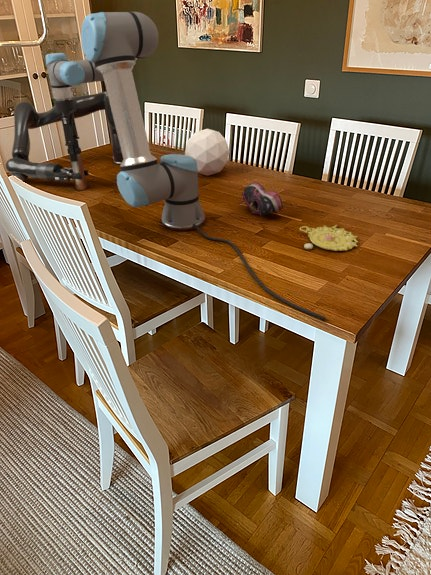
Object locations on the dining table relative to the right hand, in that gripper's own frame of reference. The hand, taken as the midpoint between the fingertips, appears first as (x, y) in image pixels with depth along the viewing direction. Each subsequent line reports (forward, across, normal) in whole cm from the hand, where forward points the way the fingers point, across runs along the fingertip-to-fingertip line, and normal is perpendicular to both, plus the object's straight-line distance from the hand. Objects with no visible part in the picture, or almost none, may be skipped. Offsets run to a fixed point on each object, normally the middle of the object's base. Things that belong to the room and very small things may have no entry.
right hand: (75, 158), depth 182 cm
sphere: (+13, +9, -55) cm, 57 cm away
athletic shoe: (+13, -38, -69) cm, 79 cm away
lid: (-4, 0, 0) cm, 4 cm away
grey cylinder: (+13, 0, 0) cm, 13 cm away
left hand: (+7, -1, -2) cm, 7 cm away
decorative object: (+13, -65, -86) cm, 109 cm away
